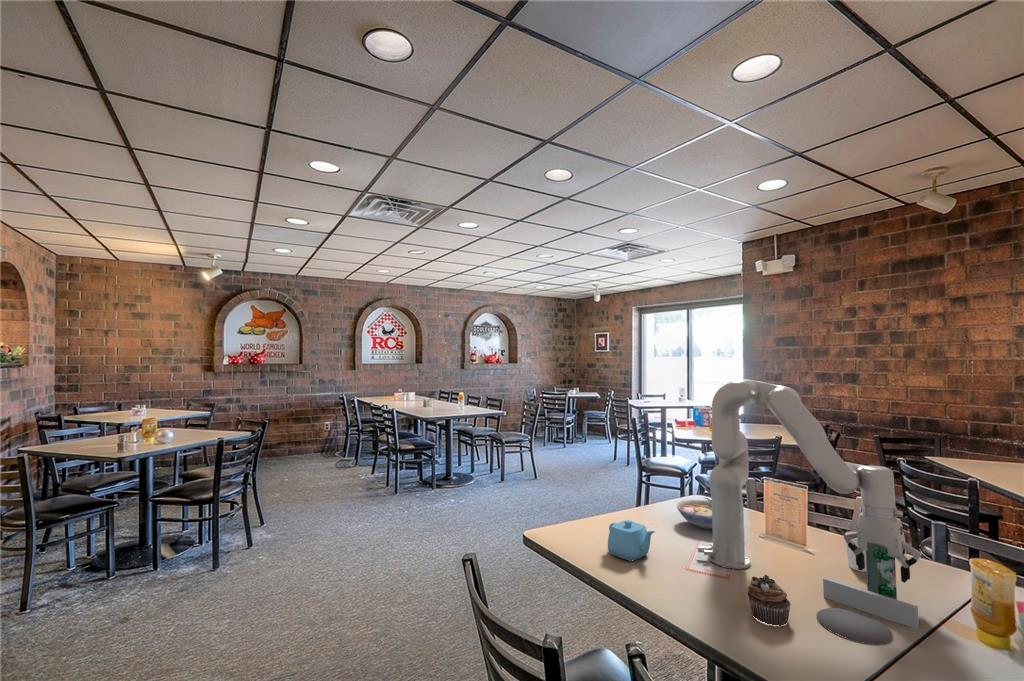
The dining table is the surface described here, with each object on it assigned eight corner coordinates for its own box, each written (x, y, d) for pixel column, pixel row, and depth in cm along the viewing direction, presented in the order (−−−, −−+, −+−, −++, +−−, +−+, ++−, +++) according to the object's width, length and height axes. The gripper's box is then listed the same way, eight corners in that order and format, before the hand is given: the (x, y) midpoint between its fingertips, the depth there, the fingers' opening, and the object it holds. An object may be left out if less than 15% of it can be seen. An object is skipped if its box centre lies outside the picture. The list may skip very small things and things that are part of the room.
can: (889, 605, 125) (886, 548, 126) (863, 595, 130) (861, 541, 131) (900, 600, 128) (898, 544, 128) (875, 591, 133) (872, 537, 134)
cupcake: (773, 632, 112) (772, 590, 113) (739, 613, 121) (738, 574, 122) (800, 624, 116) (799, 582, 117) (765, 605, 125) (764, 567, 126)
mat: (837, 641, 109) (836, 639, 109) (805, 608, 124) (805, 606, 124) (908, 646, 107) (908, 644, 107) (867, 612, 122) (867, 610, 122)
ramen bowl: (665, 517, 198) (665, 497, 198) (716, 515, 200) (716, 495, 201) (694, 539, 173) (694, 516, 173) (752, 536, 175) (752, 514, 176)
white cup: (883, 574, 143) (881, 541, 144) (854, 572, 145) (852, 539, 145) (868, 564, 151) (867, 532, 151) (841, 562, 152) (840, 530, 153)
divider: (917, 629, 114) (916, 608, 114) (823, 597, 129) (823, 578, 130) (918, 627, 115) (917, 606, 115) (826, 595, 130) (825, 577, 131)
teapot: (645, 570, 147) (644, 533, 147) (599, 553, 160) (598, 519, 161) (666, 559, 155) (665, 524, 155) (620, 544, 168) (620, 511, 169)
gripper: (922, 516, 125) (927, 582, 124) (847, 502, 139) (850, 561, 138) (915, 522, 121) (919, 590, 120) (837, 507, 135) (841, 568, 134)
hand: (882, 574), depth 129 cm, fingers open, 9 cm apart
